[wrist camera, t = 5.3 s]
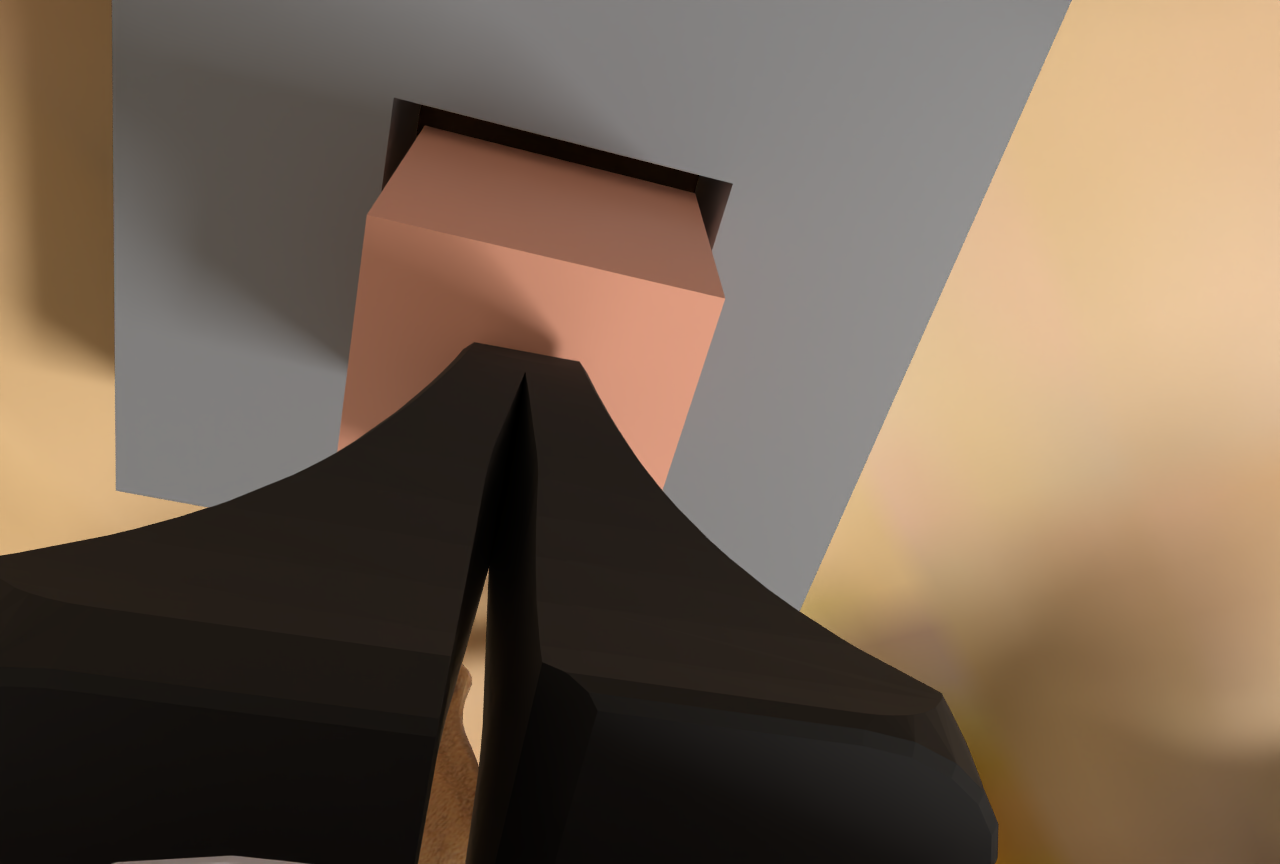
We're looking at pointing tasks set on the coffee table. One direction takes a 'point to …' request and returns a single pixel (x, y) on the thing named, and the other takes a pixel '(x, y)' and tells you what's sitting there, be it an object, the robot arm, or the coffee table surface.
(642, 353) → the salmon pink block
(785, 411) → the button housing
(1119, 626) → the coffee table surface
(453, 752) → the lion figurine
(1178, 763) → the coffee table surface
